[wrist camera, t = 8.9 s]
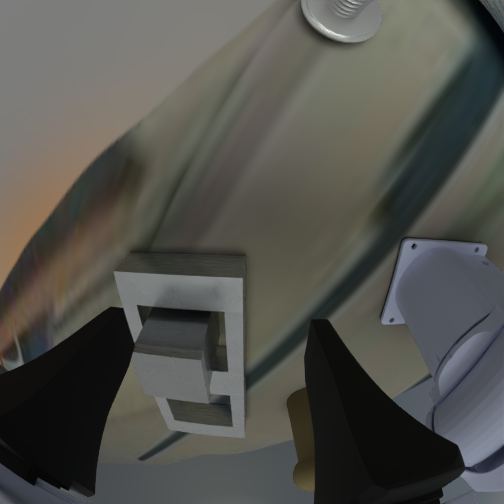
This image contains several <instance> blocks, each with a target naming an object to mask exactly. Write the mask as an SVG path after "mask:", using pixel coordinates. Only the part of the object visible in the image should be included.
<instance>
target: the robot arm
mask: <svg viewBox="0 0 504 504" xmlns="http://www.w3.org/2000/svg"><path fill="white" fill-rule="evenodd" d="M414 243H415V245H414V247H411V246H412V245H413V244H414ZM475 248H476V249H475ZM486 252H487V245H485V244H484V243H473V242H459V241H445V240H430V239H414V238H406V239H405V240H403V242H402V244H401V248H400V252H399V256H398V260H397V264H396V268H395V272H394V276H393V279H392V283H391V286H390V290H389V293H388V296H387V300H386V303H385V306H384V309H383V312H382V315H381V319H380V320H381V323H382V324H383V325H389V324H406V325H407V327H408V328H409V330H410V332H411V334H412V336H413V338H414V340H415V342H416V344H417V346H418V348H419V350H420V352H421V354H422V356H423V358H424V360H425V362H426V364H427V367H428V369H429V371H430V373H431V375H432V377H433V379H434V382H435V385H434V387H433V389H432V390H431V391H430V396H431V398H432V401H433V403H434V406H433V407H432V408H431V409H430V411H429V413H428V415H427V418H426V423H425V426H424V425H423V424H421V423H420V422H419V421H417V420H416V419H414V418H413V417H412V416H411V415H409V414H408V413H407V412H406V411H404V410H403V409H402V408H401V407H399V406H398V405H397V404H396V403H395V402H394V401H393V400H392V399H391V398H389V397H388V396H387V395H386V394H385V393H384V392H383V391H382V390H381V389H380V388H379V386H378V385H377V384H376V383H375V382H374V381H373V380H372V379H371V378H370V376H369V375H368V374H367V373H366V372H365V371H364V369H363V368H362V367H361V366H360V364H359V363H358V362H357V360H356V359H355V358H354V356H353V355H352V354H351V353H350V351H349V350H348V348H347V347H346V346H345V344H344V343H343V341H342V340H341V338H340V337H339V335H338V334H337V332H336V331H335V329H334V328H333V326H332V325H331V323H330V322H329V321H328V319H311V324H310V329H309V335H308V340H307V345H306V351H305V356H304V364H305V382H306V388H307V394H308V401H309V407H310V413H311V419H312V425H313V433H314V450H315V491H314V504H440V500H439V499H440V498H442V497H443V491H442V487H444V486H446V485H447V484H448V483H450V482H452V481H453V480H455V479H456V478H458V477H459V476H461V477H463V478H464V479H465V480H466V481H467V482H468V484H469V485H470V486H471V487H472V489H473V490H471V491H469V492H467V493H465V494H463V495H461V496H458V497H456V498H454V499H452V500H449V501H447V502H445V503H443V504H478V500H477V496H476V492H475V491H487V492H488V491H489V492H490V491H504V273H503V272H502V271H501V270H499V269H498V268H497V267H496V266H495V265H494V264H493V263H492V262H491V261H490V260H489V259H487V258H486V257H485V255H486ZM391 318H392V319H391ZM390 319H391V320H390ZM134 347H135V343H134V340H133V337H132V334H131V331H130V328H129V325H128V322H127V318H126V315H125V312H124V308H118V307H109V308H108V309H106V310H105V311H103V312H102V313H101V314H99V315H98V316H96V317H95V318H94V319H92V320H91V321H90V322H88V323H87V324H86V325H84V326H83V327H82V328H80V329H79V330H78V331H76V332H75V333H74V334H72V335H71V336H70V337H68V338H67V339H65V340H64V341H62V342H61V343H59V344H58V345H57V346H55V347H54V348H52V349H51V350H49V351H48V352H46V353H44V354H43V355H41V356H39V357H37V358H36V359H34V360H32V361H30V362H28V363H26V364H24V365H22V366H20V367H17V368H15V369H13V370H11V371H8V372H6V373H3V374H0V504H90V503H88V502H85V501H83V500H81V499H79V498H76V497H74V496H72V495H70V494H68V493H66V492H64V491H62V490H60V487H62V488H64V489H66V490H68V491H69V489H71V490H73V491H76V492H78V493H80V494H82V495H84V496H87V497H90V496H93V495H94V494H95V482H96V469H97V462H98V455H99V449H100V445H101V440H102V435H103V431H104V427H105V424H106V420H107V416H108V414H109V411H110V408H111V406H112V403H113V401H114V399H115V397H116V394H117V392H118V390H119V388H120V385H121V383H122V381H123V379H124V376H125V374H126V372H127V369H128V367H129V364H130V361H131V358H132V354H133V351H134Z"/></svg>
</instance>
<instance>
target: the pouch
mask: <svg viewBox="0 0 504 504" xmlns="http://www.w3.org/2000/svg"><path fill="white" fill-rule="evenodd" d="M479 1H480V2H481V3H482V4H483V5H484V6H485V8H486V9H487V10H488V11H489V13H490V14H491V15H492V16H493V18H494V19H495V20H496V22H497V23H498V25H499V26H500V28H501V29H502V31H503V32H504V0H479Z"/></svg>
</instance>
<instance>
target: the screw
mask: <svg viewBox="0 0 504 504" xmlns="http://www.w3.org/2000/svg"><path fill="white" fill-rule="evenodd" d="M301 9H302V12H303V15H304V17H305V18H306V20H307V22H308V23H309V24H310V25H311V26H312V27H313V28H314V29H315V30H316V31H317V32H319V33H320V34H322V35H324V36H325V37H327V38H329V39H332V40H334V41H338V42H342V43H359V42H363V41H366V40H368V39H370V38H371V37H373V36H374V35H375V34H376V33H377V32H378V31H379V29H380V27H381V24H382V11H381V8H380V6H379V3H378V2H377V0H301Z"/></svg>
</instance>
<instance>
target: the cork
mask: <svg viewBox="0 0 504 504" xmlns="http://www.w3.org/2000/svg"><path fill="white" fill-rule="evenodd" d="M287 407H288V412H289V417H290V422H291V427H292V432H293V437H294V442H295V447H296V452H297V457H298V463H297V464H296V466H295V469H294V472H293V480H294V483H295V484H296V486H297V487H298V488H299V489H302V490H305V491H315V450H314V433H313V425H312V419H311V413H310V407H309V401H308V394H307V388H303V389H300V390H298V391H296V392H295V393H293V394H292V395H290V397H289V398H288V399H287Z"/></svg>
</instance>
